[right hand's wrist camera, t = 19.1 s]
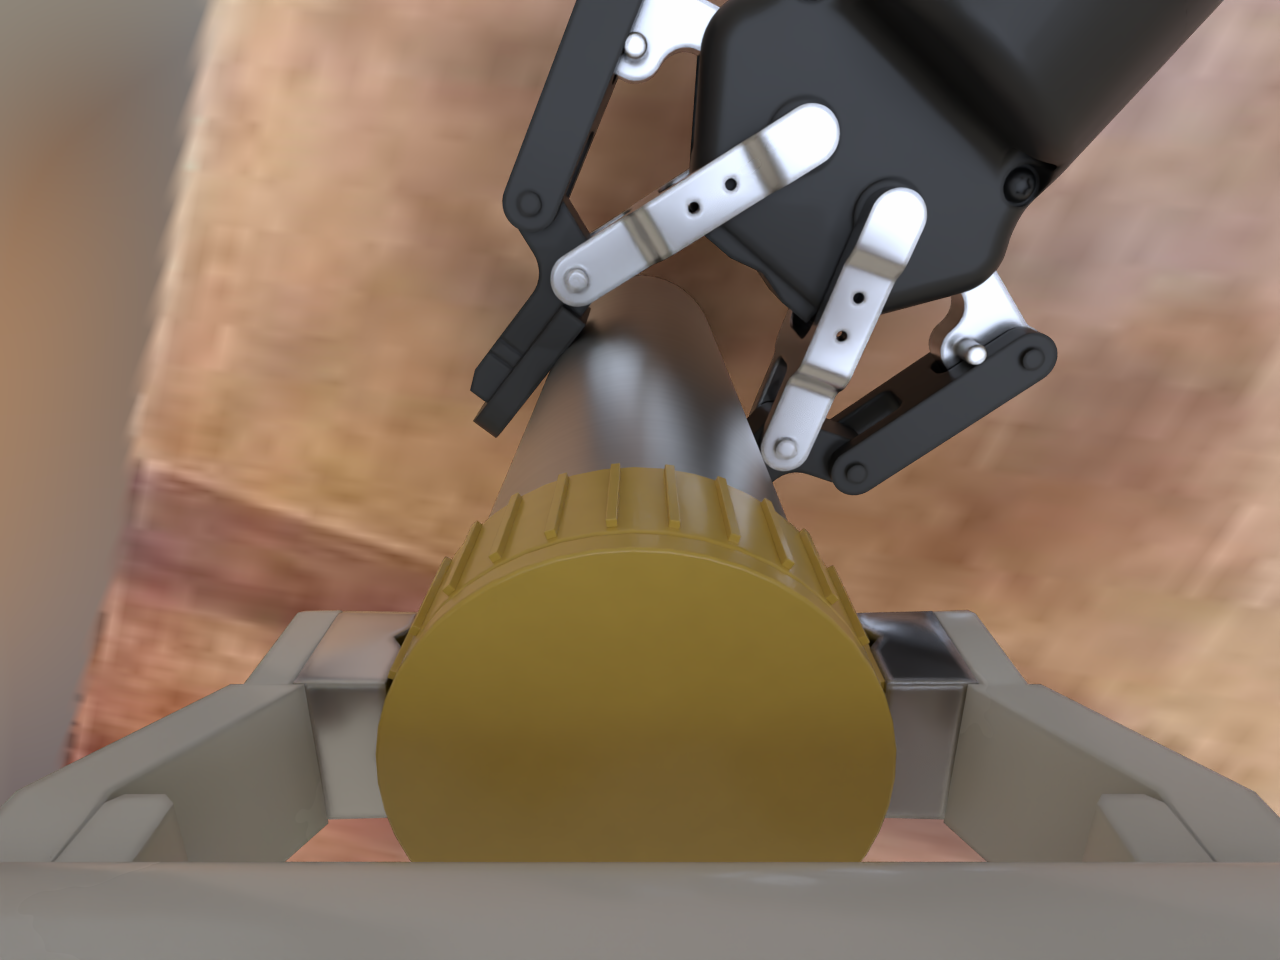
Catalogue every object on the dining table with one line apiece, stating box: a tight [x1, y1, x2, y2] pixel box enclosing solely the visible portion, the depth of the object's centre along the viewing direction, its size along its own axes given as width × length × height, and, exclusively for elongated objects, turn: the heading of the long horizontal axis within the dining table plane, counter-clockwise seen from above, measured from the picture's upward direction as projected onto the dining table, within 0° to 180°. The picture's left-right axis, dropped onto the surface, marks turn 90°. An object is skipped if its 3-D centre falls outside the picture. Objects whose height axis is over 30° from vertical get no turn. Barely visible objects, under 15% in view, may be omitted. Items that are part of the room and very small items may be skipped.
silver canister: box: [488, 275, 787, 520], centre depth 18 cm, size 5×5×19 cm
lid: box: [375, 463, 896, 862], centre depth 9 cm, size 5×5×2 cm
